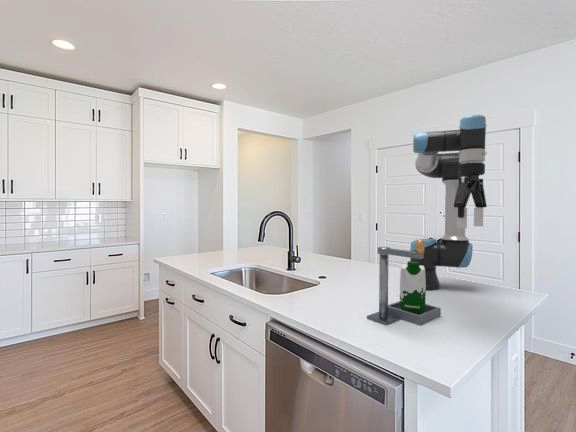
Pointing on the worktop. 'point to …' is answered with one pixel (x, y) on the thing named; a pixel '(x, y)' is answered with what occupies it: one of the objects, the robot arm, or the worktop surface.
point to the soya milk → (413, 288)
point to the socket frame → (428, 314)
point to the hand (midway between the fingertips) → (470, 227)
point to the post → (383, 295)
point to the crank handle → (405, 251)
